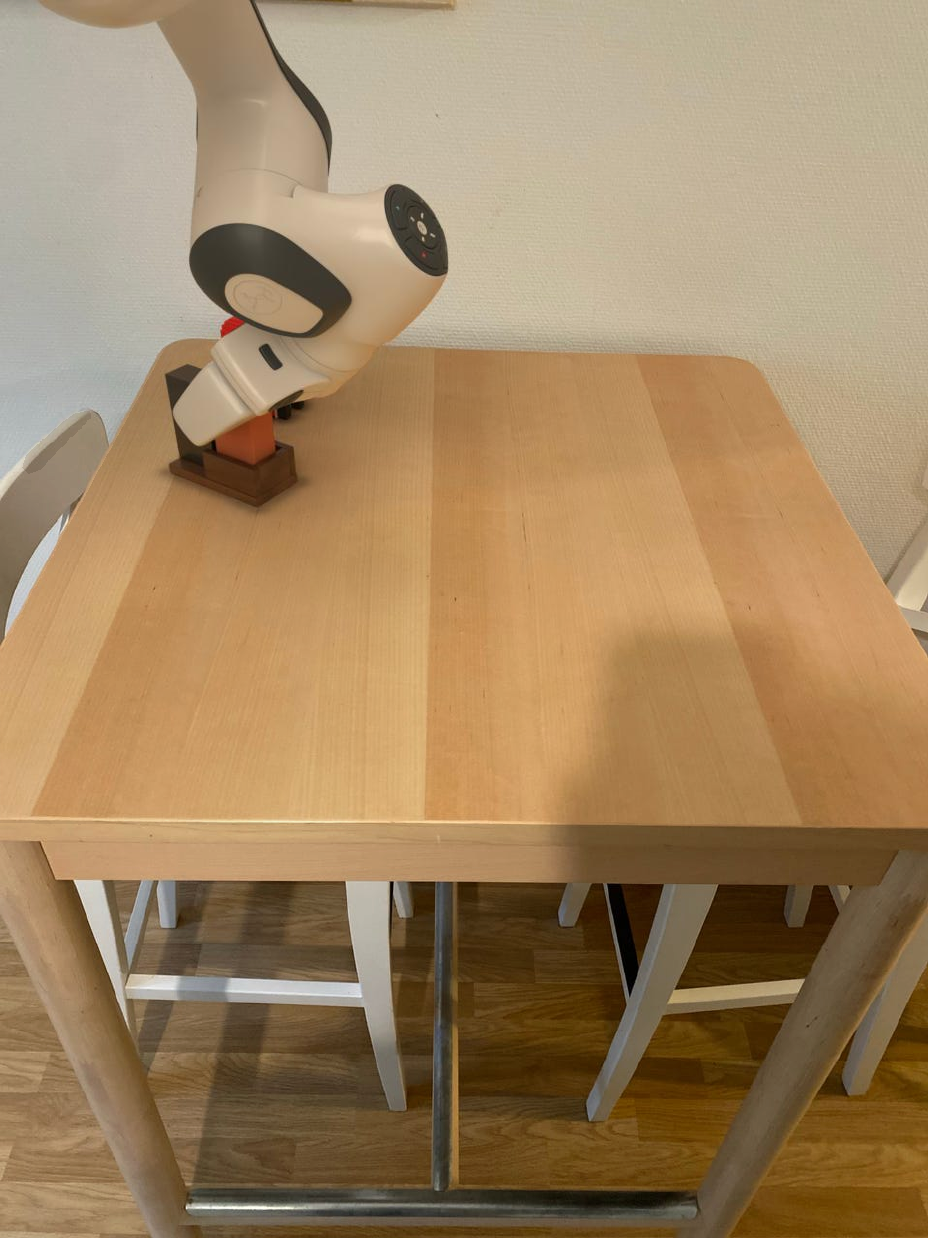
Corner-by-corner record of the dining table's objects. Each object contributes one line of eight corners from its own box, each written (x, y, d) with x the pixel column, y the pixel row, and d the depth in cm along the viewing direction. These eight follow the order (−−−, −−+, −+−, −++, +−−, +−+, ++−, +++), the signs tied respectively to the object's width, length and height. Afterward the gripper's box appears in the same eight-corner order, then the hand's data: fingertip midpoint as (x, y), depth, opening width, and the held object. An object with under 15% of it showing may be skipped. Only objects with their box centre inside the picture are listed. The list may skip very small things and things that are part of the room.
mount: (257, 507, 87) (245, 412, 81) (169, 472, 92) (152, 379, 85) (297, 481, 91) (289, 388, 85) (212, 448, 96) (198, 358, 89)
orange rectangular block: (256, 476, 87) (246, 389, 81) (218, 461, 89) (205, 375, 83) (277, 464, 89) (268, 378, 83) (239, 449, 91) (228, 364, 85)
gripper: (362, 276, 83) (288, 352, 93) (201, 347, 69) (134, 428, 79) (402, 335, 84) (325, 404, 94) (251, 416, 70) (179, 488, 80)
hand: (236, 416), depth 86 cm, fingers closed on orange rectangular block, 3 cm apart
